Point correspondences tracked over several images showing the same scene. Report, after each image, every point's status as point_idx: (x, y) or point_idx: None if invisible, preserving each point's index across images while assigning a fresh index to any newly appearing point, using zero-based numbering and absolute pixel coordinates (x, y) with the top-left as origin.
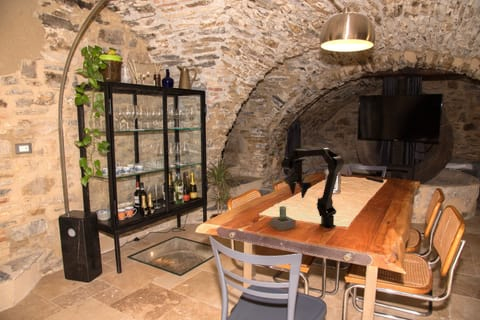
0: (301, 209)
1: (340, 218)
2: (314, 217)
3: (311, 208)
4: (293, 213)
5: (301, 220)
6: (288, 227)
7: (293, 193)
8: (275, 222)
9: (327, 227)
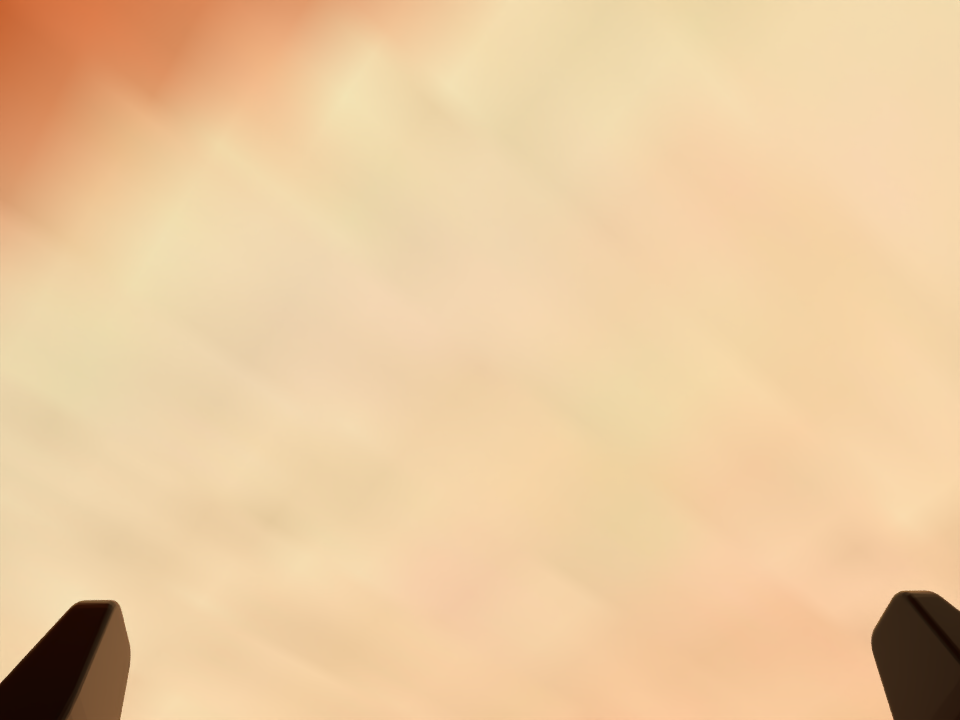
0: (756, 513)
1: (10, 669)
2: (259, 429)
3: (662, 636)
4: (722, 273)
5: (229, 98)
6: None
7: (899, 673)
8: None
9: None
